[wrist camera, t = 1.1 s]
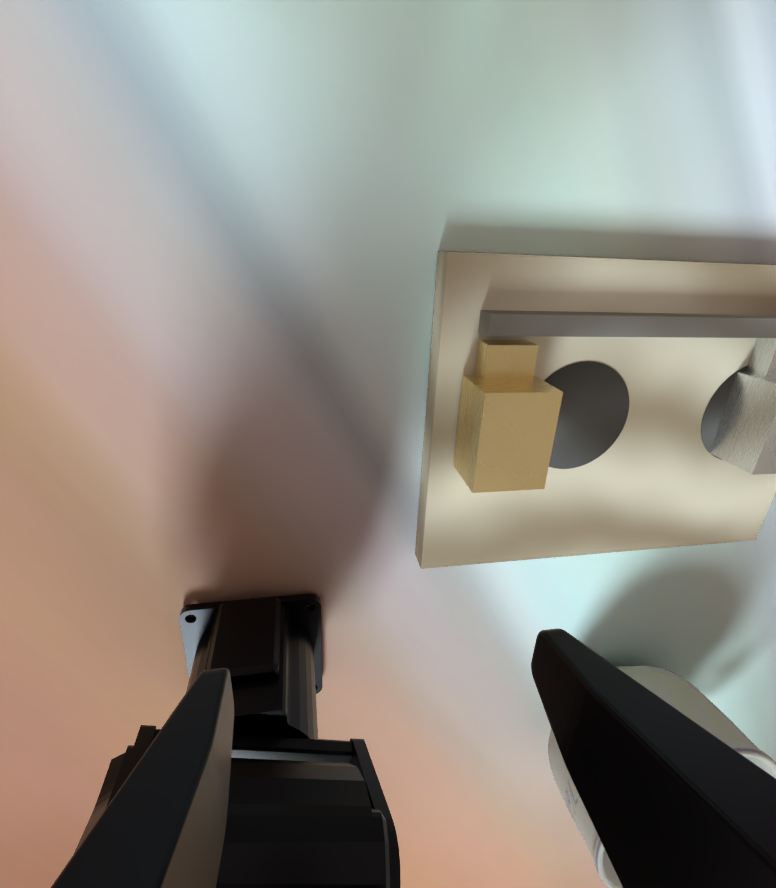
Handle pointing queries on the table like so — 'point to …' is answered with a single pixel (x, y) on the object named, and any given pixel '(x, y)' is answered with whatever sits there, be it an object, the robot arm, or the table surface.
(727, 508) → the plate
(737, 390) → the block
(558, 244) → the table surface
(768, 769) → the grey rounded container
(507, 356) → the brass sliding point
